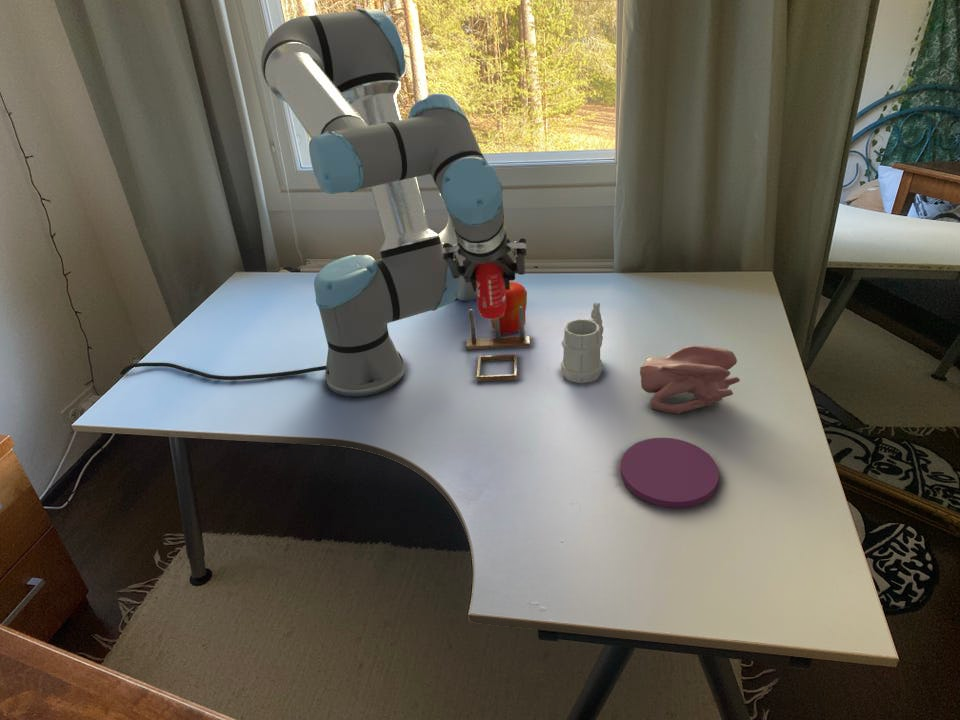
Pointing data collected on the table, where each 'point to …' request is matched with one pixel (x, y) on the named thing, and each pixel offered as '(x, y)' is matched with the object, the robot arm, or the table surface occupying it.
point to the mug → (583, 348)
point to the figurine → (689, 377)
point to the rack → (497, 346)
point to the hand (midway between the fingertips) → (491, 283)
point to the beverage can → (490, 290)
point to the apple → (512, 309)
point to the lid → (669, 472)
